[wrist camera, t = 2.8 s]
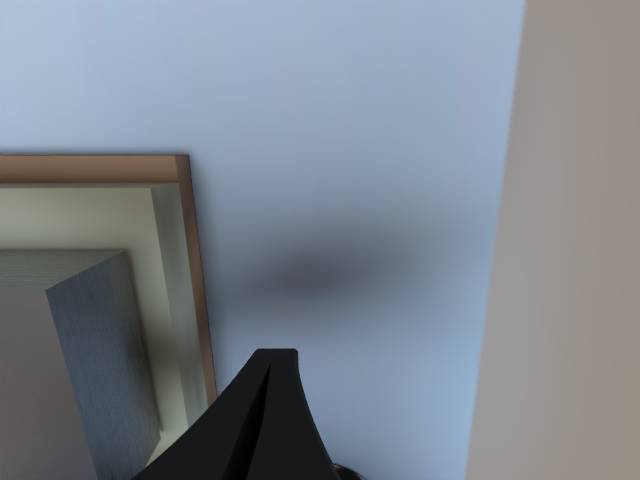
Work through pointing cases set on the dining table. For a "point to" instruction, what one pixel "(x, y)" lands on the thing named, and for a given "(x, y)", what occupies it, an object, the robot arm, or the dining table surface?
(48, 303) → the metal block
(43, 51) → the dining table surface
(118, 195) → the tan piece
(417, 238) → the dining table surface
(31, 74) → the dining table surface
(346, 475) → the white-spotted black cylinder
